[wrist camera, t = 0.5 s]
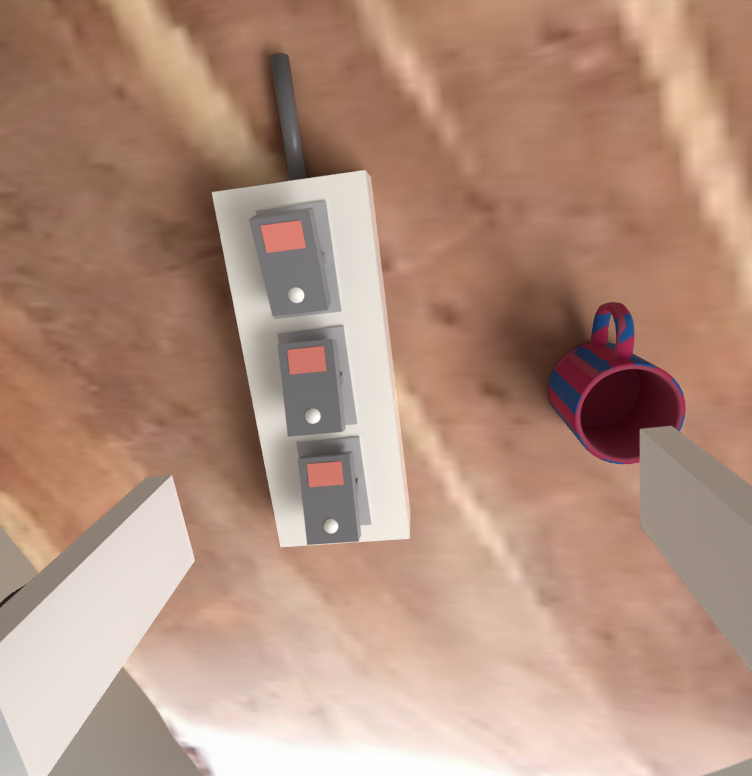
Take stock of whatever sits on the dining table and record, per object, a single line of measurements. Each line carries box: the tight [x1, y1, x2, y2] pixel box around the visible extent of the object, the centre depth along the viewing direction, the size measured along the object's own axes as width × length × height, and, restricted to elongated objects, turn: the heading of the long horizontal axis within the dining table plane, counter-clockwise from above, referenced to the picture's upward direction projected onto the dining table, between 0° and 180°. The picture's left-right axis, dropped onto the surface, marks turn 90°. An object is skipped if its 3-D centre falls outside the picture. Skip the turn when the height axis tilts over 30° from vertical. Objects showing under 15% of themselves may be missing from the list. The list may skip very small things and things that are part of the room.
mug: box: [549, 302, 685, 464], centre depth 35 cm, size 7×10×7 cm
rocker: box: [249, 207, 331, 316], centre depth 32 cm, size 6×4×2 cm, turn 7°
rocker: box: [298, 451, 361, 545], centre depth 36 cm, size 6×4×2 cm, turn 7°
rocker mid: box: [278, 339, 346, 437], centre depth 34 cm, size 6×4×1 cm, turn 7°
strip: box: [212, 54, 410, 547], centre depth 37 cm, size 34×10×5 cm, turn 7°
